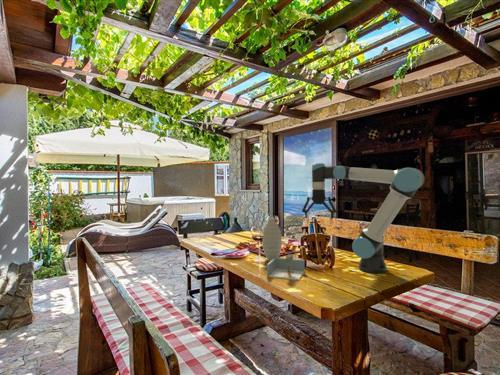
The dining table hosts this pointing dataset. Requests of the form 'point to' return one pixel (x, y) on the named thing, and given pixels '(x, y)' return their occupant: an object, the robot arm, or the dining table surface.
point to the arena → (285, 269)
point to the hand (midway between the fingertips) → (319, 223)
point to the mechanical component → (289, 261)
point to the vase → (272, 240)
